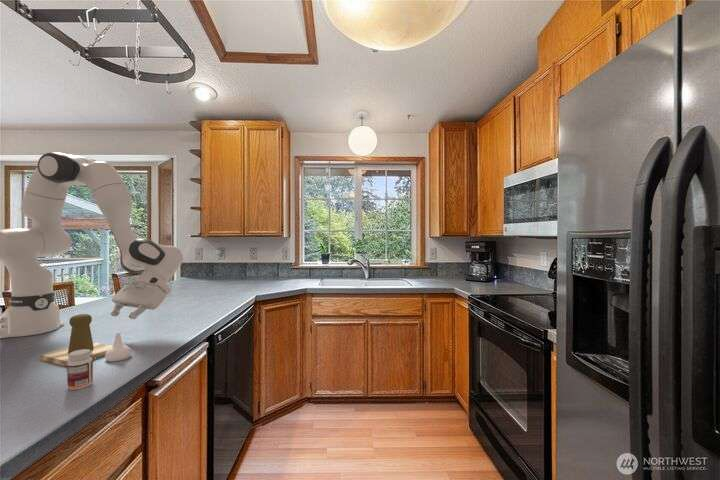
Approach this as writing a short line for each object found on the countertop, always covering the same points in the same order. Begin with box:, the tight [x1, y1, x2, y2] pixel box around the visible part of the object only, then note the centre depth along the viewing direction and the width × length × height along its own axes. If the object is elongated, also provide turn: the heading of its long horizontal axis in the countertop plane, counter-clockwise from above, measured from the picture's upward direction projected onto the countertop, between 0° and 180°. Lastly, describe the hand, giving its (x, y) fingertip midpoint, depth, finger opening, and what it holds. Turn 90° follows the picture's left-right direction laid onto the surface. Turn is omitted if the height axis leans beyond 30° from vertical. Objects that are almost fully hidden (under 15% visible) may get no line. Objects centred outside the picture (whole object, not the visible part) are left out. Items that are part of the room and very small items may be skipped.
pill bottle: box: [66, 349, 94, 391], centre depth 80 cm, size 5×5×8 cm
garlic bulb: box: [104, 331, 132, 363], centre depth 98 cm, size 6×6×8 cm
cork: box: [68, 313, 94, 354], centre depth 100 cm, size 6×6×11 cm
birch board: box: [40, 341, 113, 367], centre depth 100 cm, size 14×13×2 cm
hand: (122, 316), depth 111 cm, fingers open, 8 cm apart
